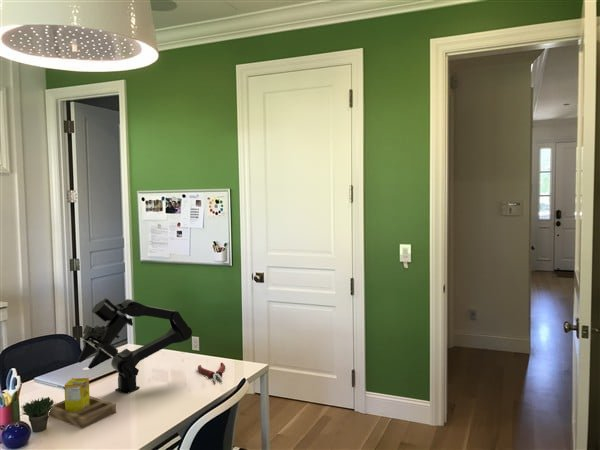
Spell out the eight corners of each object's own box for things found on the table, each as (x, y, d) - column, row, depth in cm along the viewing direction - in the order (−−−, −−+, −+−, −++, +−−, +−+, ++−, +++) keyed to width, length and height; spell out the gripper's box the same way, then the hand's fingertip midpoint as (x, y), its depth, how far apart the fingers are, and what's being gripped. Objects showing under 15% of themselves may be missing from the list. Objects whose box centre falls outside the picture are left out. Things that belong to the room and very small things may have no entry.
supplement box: (90, 408, 168) (89, 377, 167) (83, 416, 162) (82, 384, 161) (72, 408, 167) (71, 377, 167) (65, 416, 161) (64, 384, 161)
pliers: (204, 387, 187) (204, 380, 187) (197, 370, 206) (197, 364, 206) (233, 383, 191) (233, 377, 191) (223, 367, 210) (223, 361, 210)
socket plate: (116, 412, 164) (115, 404, 164) (82, 428, 153) (81, 419, 153) (82, 401, 173) (82, 393, 173) (47, 415, 162) (47, 406, 162)
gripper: (87, 312, 181) (57, 347, 174) (108, 321, 168) (77, 359, 161) (108, 328, 187) (79, 363, 180) (130, 338, 174) (101, 376, 167)
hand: (83, 365), depth 172 cm, fingers open, 9 cm apart
